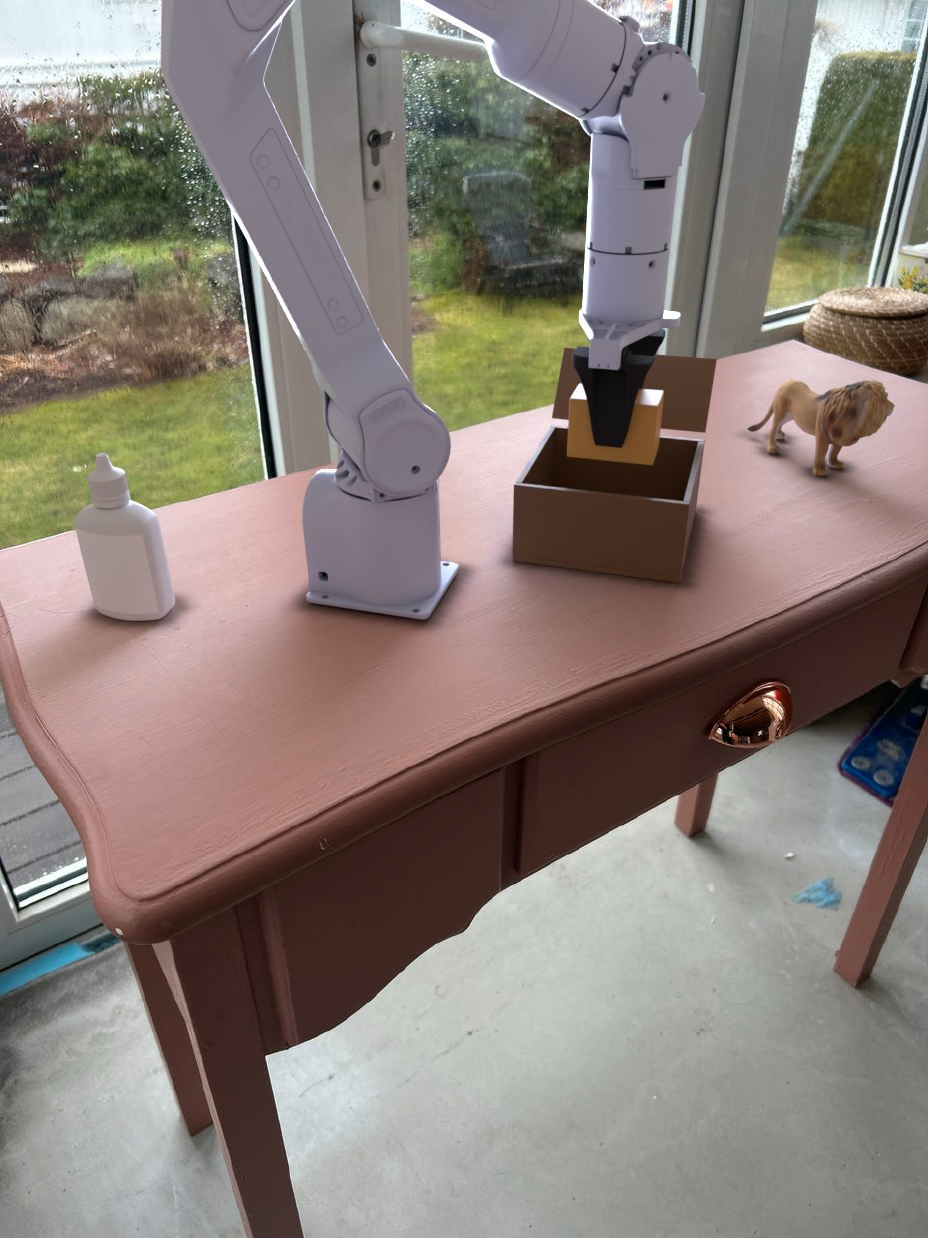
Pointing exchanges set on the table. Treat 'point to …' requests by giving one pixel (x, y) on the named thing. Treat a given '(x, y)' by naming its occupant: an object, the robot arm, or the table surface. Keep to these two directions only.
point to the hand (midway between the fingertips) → (613, 435)
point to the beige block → (639, 437)
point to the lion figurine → (828, 416)
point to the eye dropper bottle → (122, 550)
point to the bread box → (607, 509)
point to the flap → (674, 375)
